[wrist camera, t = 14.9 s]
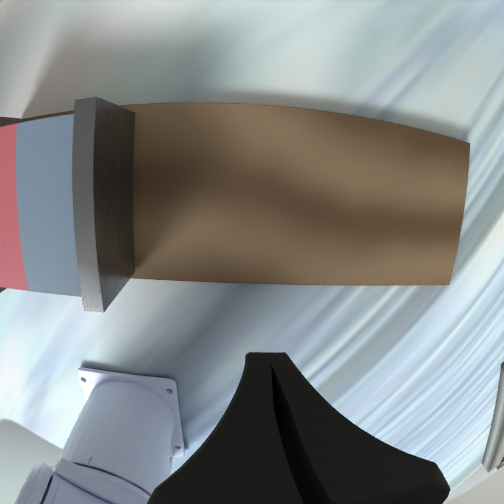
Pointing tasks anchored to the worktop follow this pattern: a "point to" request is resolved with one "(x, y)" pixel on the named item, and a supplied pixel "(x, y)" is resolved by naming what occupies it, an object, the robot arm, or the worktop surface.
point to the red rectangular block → (9, 214)
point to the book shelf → (291, 196)
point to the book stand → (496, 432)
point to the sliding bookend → (103, 199)
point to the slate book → (47, 205)
